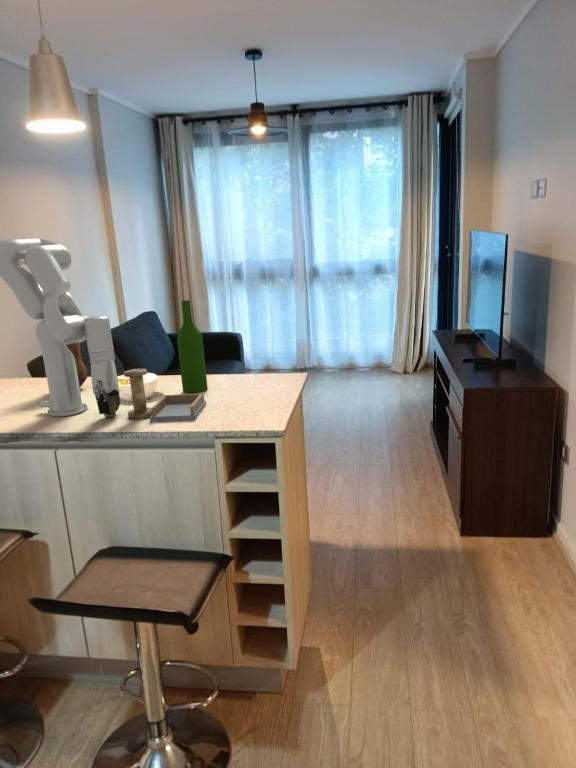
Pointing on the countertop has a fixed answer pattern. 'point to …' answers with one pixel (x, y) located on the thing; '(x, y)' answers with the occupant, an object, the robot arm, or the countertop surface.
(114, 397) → the cup
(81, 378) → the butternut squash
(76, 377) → the robot arm
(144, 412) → the bobbin post
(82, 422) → the countertop surface
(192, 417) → the wooden tray
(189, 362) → the wine bottle
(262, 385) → the countertop surface
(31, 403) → the countertop surface
